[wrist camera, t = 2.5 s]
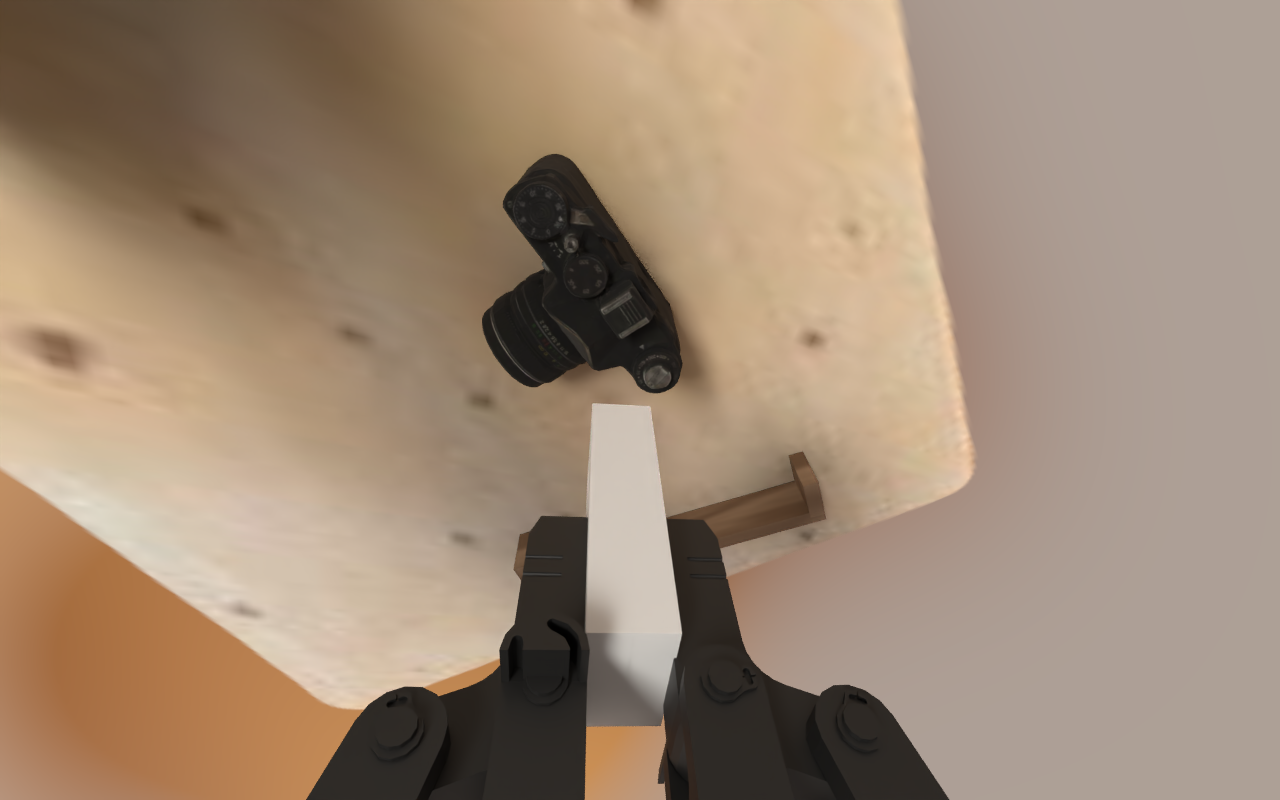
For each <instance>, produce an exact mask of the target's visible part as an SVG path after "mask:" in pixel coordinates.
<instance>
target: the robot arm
mask: <svg viewBox="0 0 1280 800" xmlns="http://www.w3.org/2000/svg"><path fill="white" fill-rule="evenodd" d="M499 651H500V666H499V667H498V668H497V669H496V670H495V671H494V672H493V673H492V674H491V675H489V676H488V677H487V678H485V679H484V680H482V681H480V682H478V683H476V684H474V685H471V686H469V687H466V688H463V689H460V690H457V691H454V692H451V693H448V694H444V695H442V696H437V694H435V693H433V692H431V691H429V690H427V689H425V688H423V687H402V688H399V689H396V690H393V691H390V692H386V693H385V694H383V695H382V696H381V697H379V698H378V699H376V700H375V701H373V702H372V703H370V704H369V705H368V706H367V707H366V708H365V710H364V711H363V712H362V713H361V715H360V716H359V717H358V718H357V719H356V720H355V722H354V723H353V725H352V727H351V728H350V730H349V731H348V733H347V735H346V736H345V738H344V739H343V741H342V743H341V745H340V746H339V747H338V749H337V751H336V752H335V754H334V756H333V757H332V759H331V760H330V762H329V764H328V765H327V767H326V769H325V770H324V772H323V773H322V775H321V777H320V778H319V780H318V781H317V783H316V785H315V786H314V788H313V790H312V791H311V793H310V794H309V796H308V798H307V799H306V800H584V799H585V754H586V726H587V727H588V726H661V722H662V718H663V714H664V720H665V732H666V744H665V748H664V752H663V756H662V760H661V764H660V768H659V776H658V784H663V783H664V781H665V792H666V800H949V799H948V797H947V796H946V794H945V793H944V791H943V790H942V788H941V787H940V785H939V784H938V782H937V781H936V779H935V778H934V776H933V775H932V773H931V772H930V770H929V769H928V767H927V766H926V764H925V763H924V761H923V760H922V758H921V757H920V755H919V754H918V752H917V751H916V749H915V748H914V746H913V745H912V743H911V742H910V740H909V739H908V737H907V736H906V734H905V733H904V732H903V730H902V728H901V727H900V725H899V724H898V722H897V721H896V719H895V718H894V716H893V715H892V714H891V713H890V712H889V710H888V709H887V708H886V707H885V706H884V705H883V704H882V702H880V700H878V699H877V698H875V697H874V696H872V695H871V694H869V693H868V692H866V691H865V690H863V689H859V688H856V687H853V686H850V685H833V686H832V687H830V688H828V689H827V690H825V691H823V692H822V693H821V695H820V696H817V695H814V694H811V693H808V692H805V691H802V690H799V689H796V688H793V687H790V686H787V685H784V684H782V683H780V682H778V681H775V680H773V679H772V678H770V677H769V676H768V675H766V674H765V673H763V672H762V671H761V670H760V669H759V668H758V667H757V666H756V665H755V664H754V663H753V661H752V660H751V658H750V657H749V655H748V654H747V652H746V650H745V647H744V644H743V642H742V638H741V634H740V630H739V625H738V621H737V617H736V613H735V609H734V605H733V601H732V597H731V592H730V588H729V584H728V580H727V579H726V571H725V567H724V563H723V562H722V555H721V551H720V547H719V543H718V538H717V537H716V535H715V534H714V533H713V531H712V530H711V529H710V527H709V526H708V525H707V523H706V522H705V521H704V520H693V519H666V515H665V508H664V501H663V493H662V486H661V479H660V472H659V465H658V458H657V451H656V443H655V436H654V429H653V422H652V415H651V408H650V406H637V405H618V404H600V403H592V417H591V433H590V448H589V463H588V478H587V501H586V517H557V516H541V517H540V519H539V520H538V522H537V523H536V524H535V526H534V527H533V529H532V530H531V531H530V533H529V535H528V542H527V548H526V555H525V561H524V567H523V576H522V580H521V587H520V593H519V599H518V606H517V612H516V619H515V625H514V626H513V627H512V628H511V629H510V630H509V631H508V632H507V633H506V634H505V637H504V639H503V642H502V644H501V647H500V650H499Z"/></svg>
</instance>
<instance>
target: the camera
mask: <svg viewBox="0 0 1280 800" xmlns="http://www.w3.org/2000/svg"><path fill="white" fill-rule="evenodd" d="M503 208H504V209H505V211H506V212H507V214H508V216H509V217H510V218H511V220H512V221H513V222H514V224H515V225H516V227H517V228H518V229H519V230H520V232H521V233H522V234H523V235H524V237H525V238H526V239H527V240H528V242H529V243H530V244H531V245H532V247H533V248H534V249H535V251H536V252H537V253H538V255H539V256H540V257H541V259H542V260H543V262H542V265H543V267H544V269H543V270H541V271H539V272H537V273H534V274H532V275H530V276H529V277H527V278H526V280H524V281H523V282H521V283H520V284H519V285H518V286H517V287H516V288H515V289H514V290H513V291H510V292H508V293H506V294H504V295H503V296H501V297H500V298H498V299H497V300H496V301H495V303H494V304H493V306H492V307H490V308H489V309H488V310H487V311H486V312H485V313H484V315H483V318H482V325H483V331H484V335H485V338H486V340H487V343H488V345H489V347H490V349H491V350H492V352H493V354H494V356H495V357H496V359H497V360H498V361H499V363H500V364H501V365H502V367H503V368H504V369H505V370H506V371H507V372H508V373H509V374H510V375H511V376H512V377H513V378H514V379H516V380H517V381H519V382H520V383H522V384H523V385H526V386H529V387H538V386H540V385H542V384H544V383H549V382H552V381H553V380H555V379H556V378H558V377H559V376H561V375H562V374H564V373H565V372H566V371H567V370H570V369H573V368H575V367H577V366H578V365H579V364H583V363H585V362H587V363H588V364H589V365H590V366H591V368H593V369H594V370H597V371H601V370H605V369H609V368H613V367H617V366H622V367H624V368H625V369H626V370H627V371H628V372H629V373H630V374H631V375H632V377H633V378H634V380H635V381H636V383H637V385H638V386H639V387H640V388H641V389H642V390H645V391H646V392H649V393H661V392H665V391H667V390H669V389H671V388H672V387H674V386H675V384H676V383H677V382H678V379H679V377H680V372H681V368H682V364H683V363H682V359H681V356H680V344H679V339H678V335H677V331H676V327H675V323H674V319H673V315H672V311H671V308H670V304H669V303H668V301H667V300H666V299H665V298H664V296H663V294H662V292H661V291H660V289H659V288H658V286H657V285H656V283H655V282H654V281H653V279H652V278H651V276H650V275H649V273H648V272H647V270H646V269H645V267H644V266H643V264H642V263H641V262H640V260H639V259H638V257H637V256H636V254H635V253H634V251H633V250H632V248H631V246H630V245H629V243H628V242H627V240H626V239H625V238H624V236H623V235H622V234H621V232H620V231H619V229H618V228H617V226H616V224H615V223H614V221H613V219H612V218H611V217H610V215H609V214H608V212H607V211H606V209H605V208H604V207H603V205H602V204H601V202H600V201H599V199H598V198H597V196H596V195H595V193H594V191H593V190H592V188H591V187H590V185H589V184H588V182H587V181H586V179H585V178H584V176H583V175H582V173H581V172H580V170H579V169H578V168H577V166H576V165H575V164H574V162H573V161H571V160H570V159H568V158H566V157H565V156H563V155H559V154H551V155H547V156H545V157H543V158H541V159H539V160H538V161H537V162H536V163H534V164H533V165H532V166H531V167H530V168H528V170H527V171H526V173H525V174H524V175H523V176H522V178H521V179H520V180H519V181H518V183H517V184H515V185H514V186H513V187H512V188H511V189H510V190H509V191H508V192H507V194H506V196H505V198H504V201H503Z"/></svg>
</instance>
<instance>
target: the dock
mask: <svg viewBox="0 0 1280 800" xmlns="http://www.w3.org/2000/svg"><path fill="white" fill-rule="evenodd" d="M789 458H790V463H791V467H792V471H793V475H794V479H795V481H793V482H790V483H786V484H783V485H779V486H776V487H772V488H769V489H765V490H762V491H758V492H755V493H751V494H748V495H745V496H741V497H738V498H734V499H731V500H727V501H724V502H720V503H717V504H713V505H710V506H706V507H703V508H699V509H696V510H692V511H689V512H685V513H682V514H678V515H675V516H671V517H668V518H666V519H693V520H704V521H705V522H706V523H707V525H708V526H709V527H710V529H711V530H712V531H713V533H714V534H715V535H716V537H717V538H718V543H719V547H720V548H723V547H726V546H730V545H734V544H737V543H741V542H744V541H748V540H752V539H755V538H759V537H763V536H766V535H770V534H773V533H777V532H781V531H784V530H788V529H792V528H795V527H799V526H802V525H806V524H810V523H813V522H817V521H821V520H824V519H826V516H825V511H824V506H823V502H822V497H821V492H820V488H819V483H818V481H817V479H816V477H815V475H814V473H813V471H812V469H811V467H810V465H809V463H808V461H807V459H806V457H805V455H804V453H803V452H800V453H796V454H793V455H789ZM529 533H530V532H527V533H524V534H520V538H519V543H518V548H517V554H516V559H515V564H514V571H515V572H516V574H517V575H518V576H519V578H520V579H521V580H522V576H523V567H524V561H525V555H526V548H527V542H528V535H529Z"/></svg>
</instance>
